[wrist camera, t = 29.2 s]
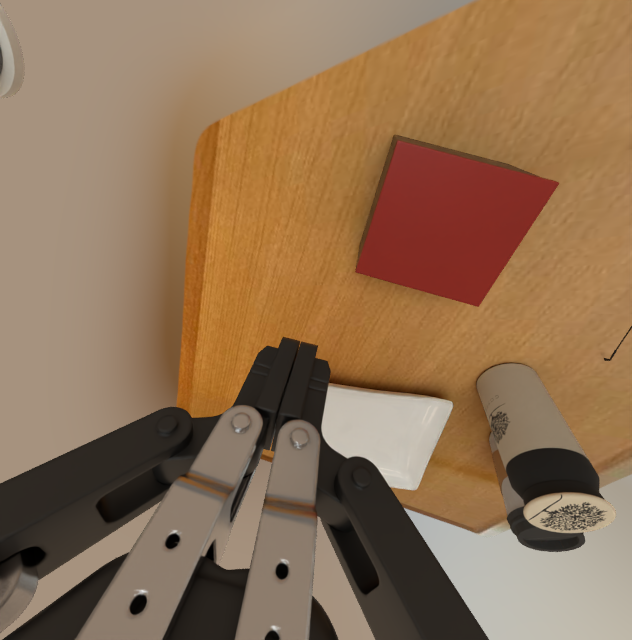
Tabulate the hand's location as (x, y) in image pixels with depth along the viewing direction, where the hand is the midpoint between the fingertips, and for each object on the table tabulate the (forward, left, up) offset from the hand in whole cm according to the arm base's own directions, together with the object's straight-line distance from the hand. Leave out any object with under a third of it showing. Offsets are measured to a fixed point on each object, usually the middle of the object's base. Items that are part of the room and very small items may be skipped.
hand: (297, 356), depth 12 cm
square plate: (+38, -11, -26) cm, 47 cm away
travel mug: (+31, +14, -26) cm, 43 cm away
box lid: (+3, +8, -19) cm, 21 cm away
